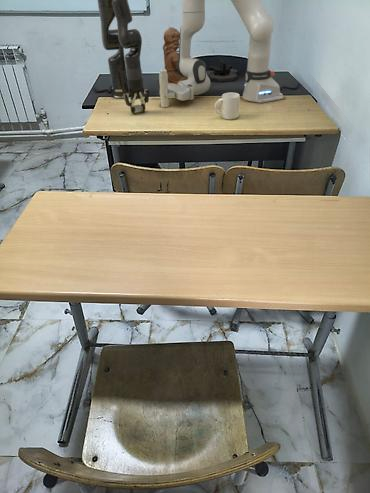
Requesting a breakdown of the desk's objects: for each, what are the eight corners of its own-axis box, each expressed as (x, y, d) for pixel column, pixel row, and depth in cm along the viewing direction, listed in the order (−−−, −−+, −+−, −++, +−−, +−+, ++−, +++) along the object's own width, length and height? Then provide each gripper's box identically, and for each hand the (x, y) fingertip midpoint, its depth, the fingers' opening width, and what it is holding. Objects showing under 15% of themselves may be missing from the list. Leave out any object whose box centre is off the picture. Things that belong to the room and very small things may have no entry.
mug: (215, 121, 173) (216, 99, 166) (212, 114, 179) (213, 93, 173) (240, 119, 174) (241, 97, 167) (235, 113, 180) (237, 91, 174)
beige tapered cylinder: (166, 104, 194) (164, 68, 183) (170, 106, 191) (168, 70, 180) (159, 105, 192) (157, 70, 181) (163, 107, 190) (161, 71, 178)
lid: (133, 112, 182) (133, 108, 180) (133, 109, 185) (132, 105, 184) (143, 111, 182) (143, 107, 181) (142, 108, 186) (142, 104, 185)
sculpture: (197, 88, 213) (196, 30, 194) (156, 89, 214) (152, 31, 194) (196, 75, 234) (196, 22, 215) (159, 76, 235) (156, 23, 215)
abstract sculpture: (205, 66, 215) (198, 59, 231) (204, 82, 221) (198, 74, 236) (245, 63, 218) (236, 56, 233) (243, 79, 224) (235, 71, 239)
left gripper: (124, 81, 168) (128, 117, 179) (151, 76, 174) (154, 111, 185) (117, 78, 173) (122, 113, 184) (144, 73, 179) (147, 107, 190)
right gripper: (173, 79, 198) (151, 83, 192) (195, 87, 185) (173, 92, 179) (173, 90, 202) (152, 96, 196) (195, 100, 189) (173, 105, 183)
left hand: (138, 112), depth 185 cm, fingers closed on lid, 5 cm apart
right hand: (162, 94), depth 188 cm, fingers closed on beige tapered cylinder, 4 cm apart
